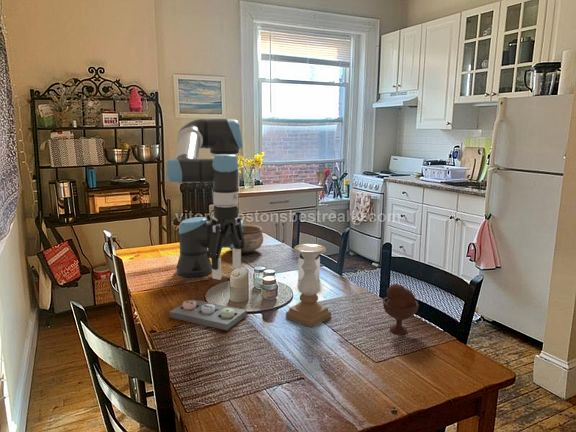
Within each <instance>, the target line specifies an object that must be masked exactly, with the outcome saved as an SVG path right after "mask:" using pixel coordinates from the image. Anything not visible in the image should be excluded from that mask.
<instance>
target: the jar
mask: <svg viewBox="0 0 576 432" xmlns="http://www.w3.org/2000/svg"><path fill="white" fill-rule="evenodd" d="M298 254H299V253H298ZM303 263H304V258H303V256H302V254H299V256H298V268H297V269H298V270H297V271H298V272H297V274H298V275H297V278H298V281H301V279H302V278H303V276H304V271H303V269H302V265H303ZM315 263H316V265H317V269H316V271H315V273H314V274H315V277H316V279H317V280H318V281H319V280H320V274H321V273H320V272H321V271H320V269H321V268H320V267H321V265H320V263H321V257H320V254H318V256H317V257H316V259H315Z"/></svg>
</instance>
